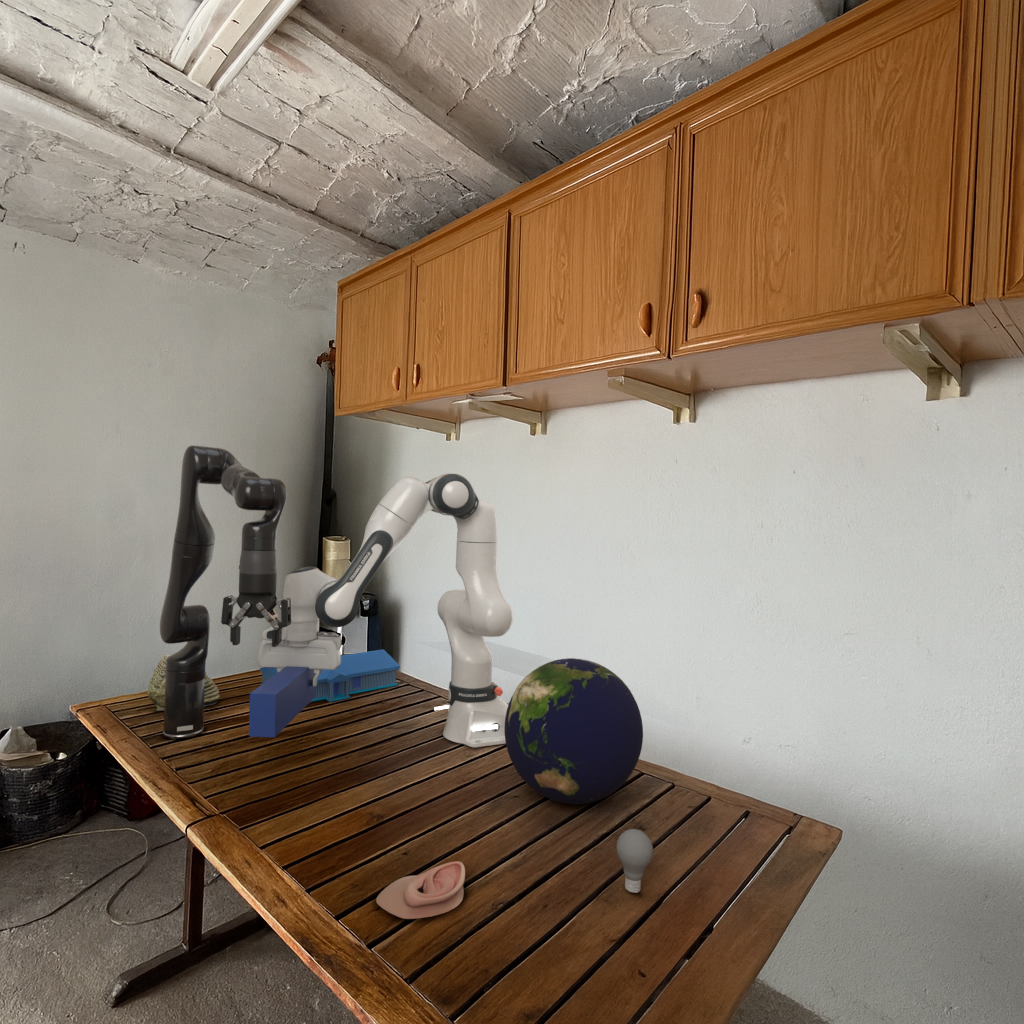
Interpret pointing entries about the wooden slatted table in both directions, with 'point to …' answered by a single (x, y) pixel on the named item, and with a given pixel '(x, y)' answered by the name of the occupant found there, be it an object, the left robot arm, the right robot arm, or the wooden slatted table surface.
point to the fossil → (158, 687)
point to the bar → (280, 701)
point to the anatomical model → (425, 892)
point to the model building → (352, 675)
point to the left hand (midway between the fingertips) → (255, 645)
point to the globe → (573, 731)
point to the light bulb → (634, 857)
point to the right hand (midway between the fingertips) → (299, 685)
